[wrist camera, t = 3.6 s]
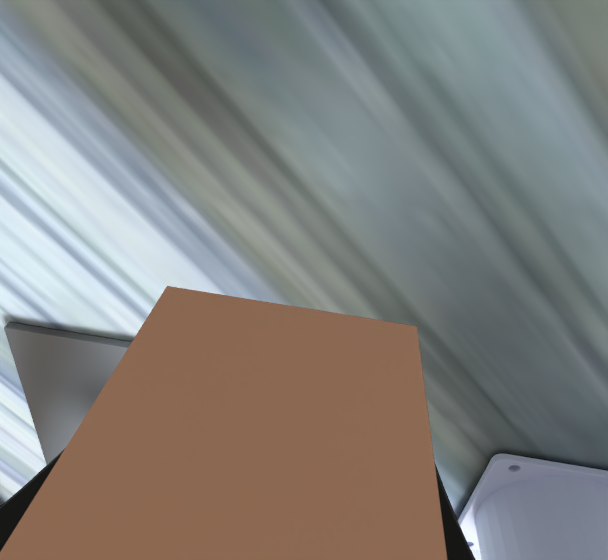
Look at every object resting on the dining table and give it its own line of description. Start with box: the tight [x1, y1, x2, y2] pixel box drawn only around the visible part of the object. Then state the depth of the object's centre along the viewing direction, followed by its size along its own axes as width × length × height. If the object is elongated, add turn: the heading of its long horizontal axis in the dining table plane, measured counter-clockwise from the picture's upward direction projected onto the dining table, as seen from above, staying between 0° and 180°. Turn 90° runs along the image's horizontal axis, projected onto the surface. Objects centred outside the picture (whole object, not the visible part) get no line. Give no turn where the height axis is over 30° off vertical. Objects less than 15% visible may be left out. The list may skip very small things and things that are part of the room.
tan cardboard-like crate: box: [0, 286, 447, 560], centre depth 9 cm, size 6×6×7 cm
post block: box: [4, 322, 132, 465], centre depth 23 cm, size 14×14×5 cm
